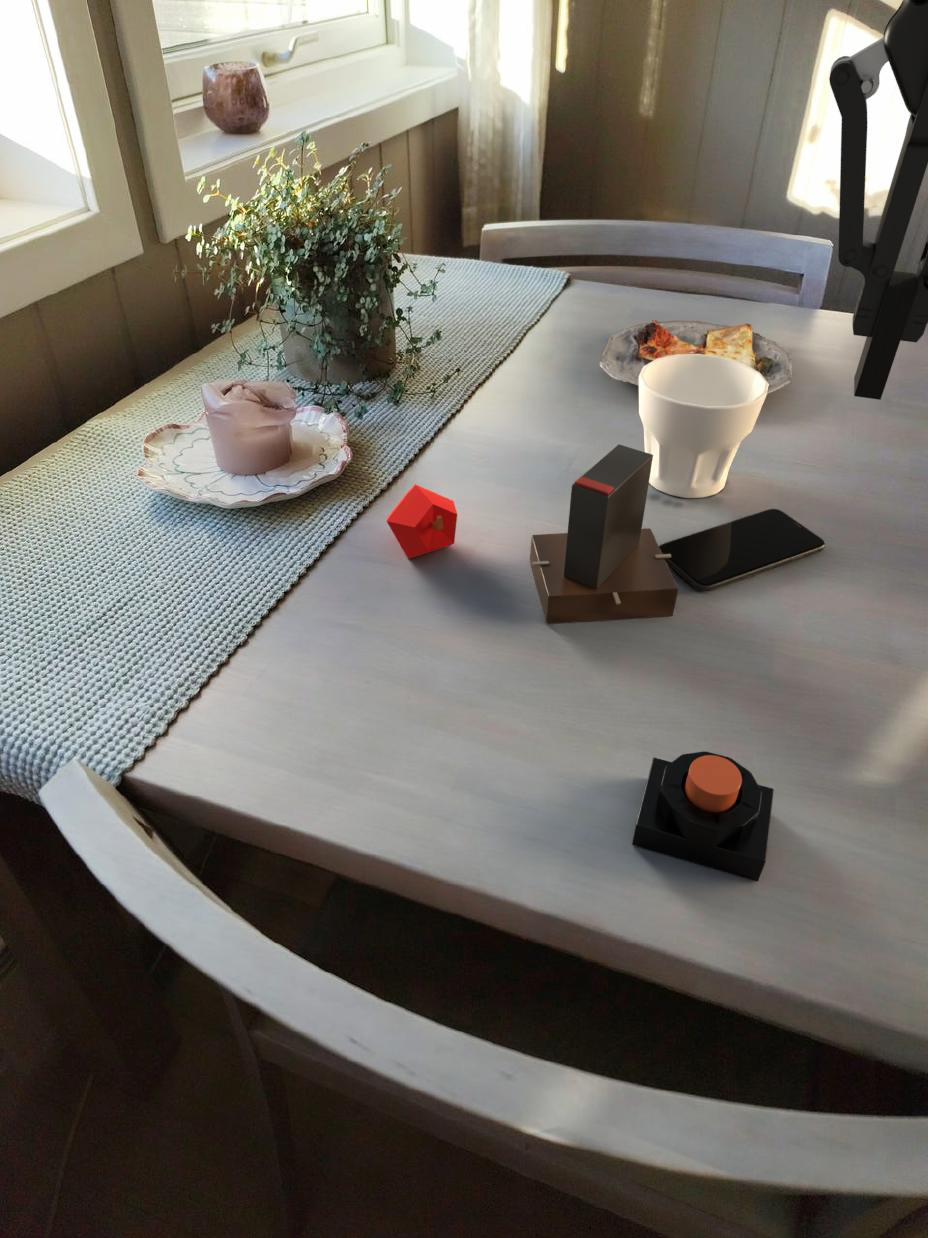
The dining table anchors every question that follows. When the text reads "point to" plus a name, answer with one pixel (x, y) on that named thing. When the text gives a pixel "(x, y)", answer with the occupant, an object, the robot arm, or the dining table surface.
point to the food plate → (694, 349)
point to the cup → (696, 419)
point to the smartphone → (740, 549)
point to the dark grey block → (606, 515)
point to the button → (713, 783)
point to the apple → (423, 522)
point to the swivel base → (603, 584)
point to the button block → (704, 821)
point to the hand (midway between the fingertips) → (867, 388)
